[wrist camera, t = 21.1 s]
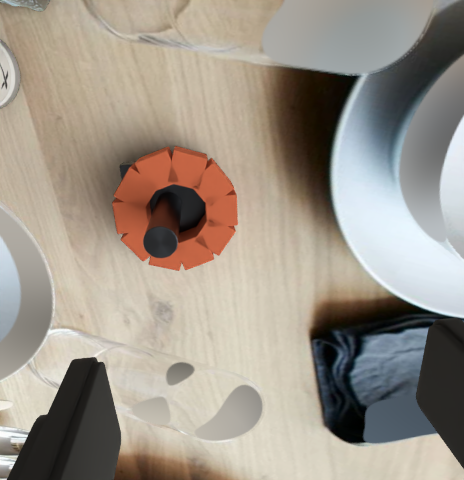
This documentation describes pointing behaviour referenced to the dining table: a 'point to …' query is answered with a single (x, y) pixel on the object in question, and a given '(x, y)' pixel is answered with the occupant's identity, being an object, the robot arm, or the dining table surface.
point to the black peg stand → (169, 216)
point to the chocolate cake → (28, 3)
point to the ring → (184, 174)
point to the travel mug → (8, 75)
